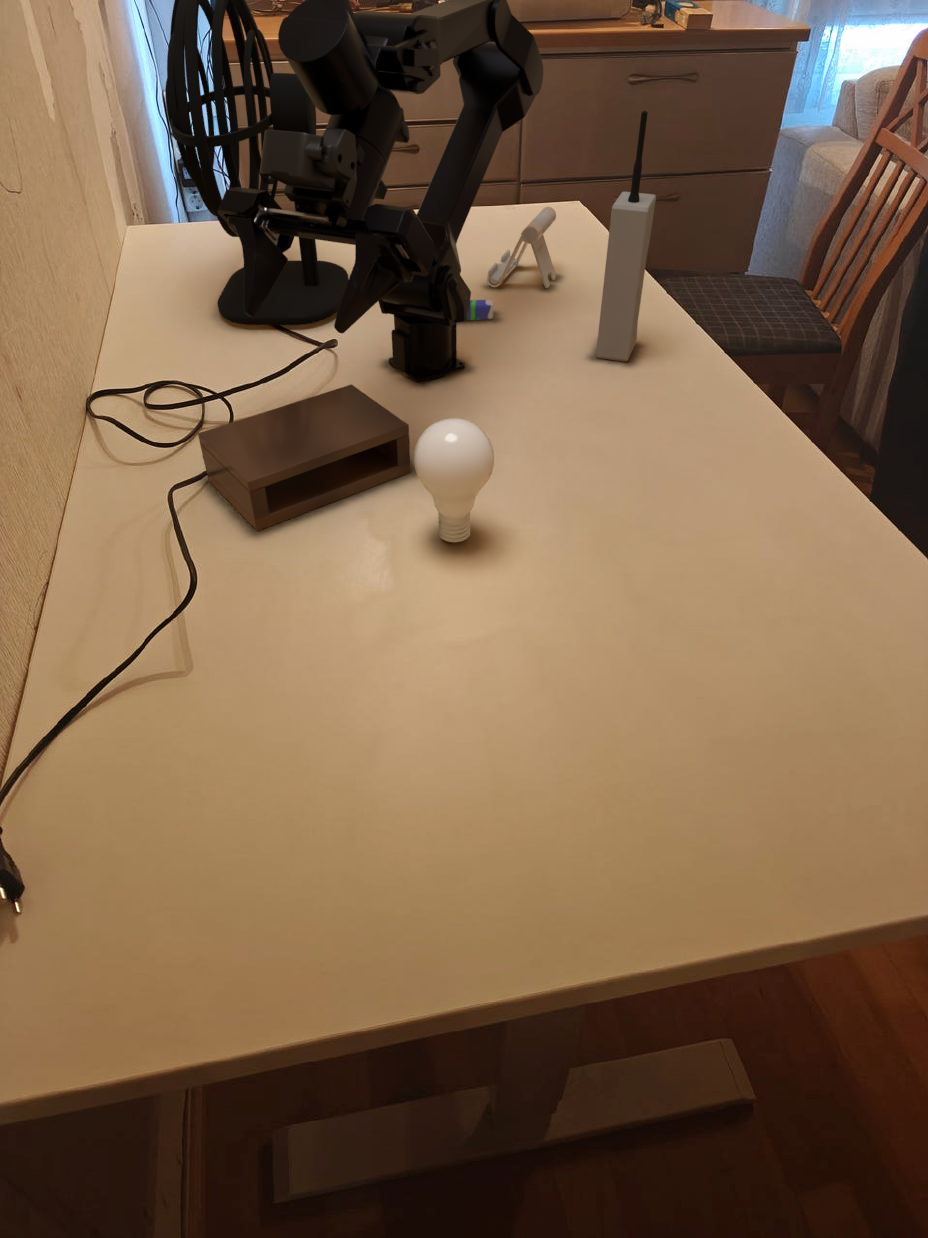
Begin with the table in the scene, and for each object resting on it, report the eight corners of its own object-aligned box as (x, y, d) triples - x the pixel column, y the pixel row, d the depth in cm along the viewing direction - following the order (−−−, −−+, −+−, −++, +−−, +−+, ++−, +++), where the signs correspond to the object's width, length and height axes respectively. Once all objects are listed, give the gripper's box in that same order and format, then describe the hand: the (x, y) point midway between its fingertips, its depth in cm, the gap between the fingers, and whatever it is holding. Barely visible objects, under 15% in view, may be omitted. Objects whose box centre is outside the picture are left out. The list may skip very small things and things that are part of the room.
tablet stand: (506, 265, 123) (508, 202, 117) (560, 272, 121) (565, 208, 115) (486, 286, 117) (488, 221, 111) (543, 294, 115) (547, 228, 109)
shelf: (355, 429, 88) (351, 383, 85) (411, 472, 82) (409, 424, 79) (208, 480, 81) (197, 432, 77) (257, 531, 75) (247, 482, 71)
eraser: (493, 320, 108) (494, 304, 107) (446, 322, 108) (445, 306, 106) (491, 313, 110) (491, 297, 109) (444, 316, 109) (443, 300, 108)
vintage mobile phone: (635, 345, 103) (669, 105, 86) (627, 363, 99) (660, 115, 83) (604, 341, 104) (631, 102, 87) (595, 358, 100) (621, 112, 84)
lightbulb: (484, 566, 71) (486, 448, 64) (409, 556, 72) (403, 439, 65) (497, 522, 76) (501, 407, 69) (426, 513, 77) (423, 399, 70)
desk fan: (233, 260, 124) (180, -48, 101) (356, 261, 124) (331, -48, 101) (187, 341, 104) (107, -23, 80) (334, 341, 104) (297, -22, 80)
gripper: (212, 76, 70) (144, 253, 69) (413, 89, 63) (341, 285, 62) (283, 168, 80) (225, 323, 79) (462, 187, 74) (402, 357, 72)
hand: (292, 322), depth 73 cm, fingers open, 9 cm apart
